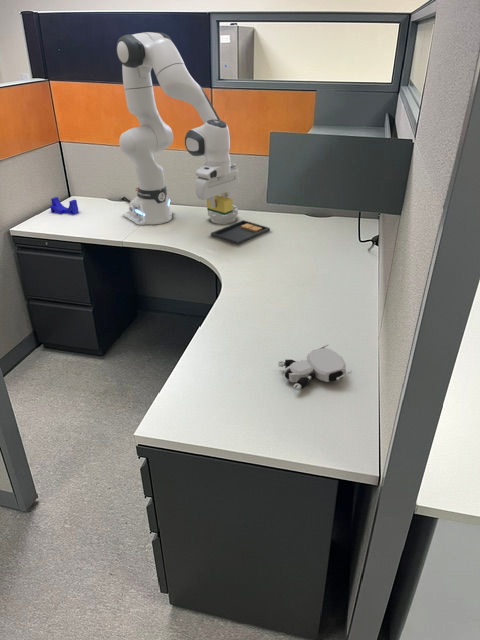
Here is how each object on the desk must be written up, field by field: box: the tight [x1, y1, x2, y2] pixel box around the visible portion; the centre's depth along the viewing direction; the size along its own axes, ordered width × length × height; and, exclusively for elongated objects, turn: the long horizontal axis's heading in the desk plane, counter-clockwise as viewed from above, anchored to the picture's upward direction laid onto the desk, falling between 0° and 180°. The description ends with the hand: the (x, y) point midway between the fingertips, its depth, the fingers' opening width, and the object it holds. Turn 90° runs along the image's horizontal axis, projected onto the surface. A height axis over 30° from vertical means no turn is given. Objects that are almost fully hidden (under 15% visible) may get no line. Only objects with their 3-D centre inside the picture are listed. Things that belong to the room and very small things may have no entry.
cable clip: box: [49, 196, 80, 216], centre depth 227 cm, size 12×4×6 cm, turn 66°
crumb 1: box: [241, 223, 254, 230], centre depth 208 cm, size 4×4×1 cm
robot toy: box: [277, 343, 353, 391], centre depth 121 cm, size 12×4×15 cm
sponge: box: [206, 195, 234, 215], centre depth 187 cm, size 9×4×5 cm, turn 49°
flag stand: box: [207, 194, 239, 225], centre depth 209 cm, size 13×13×30 cm
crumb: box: [249, 226, 262, 232], centre depth 205 cm, size 4×4×1 cm
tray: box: [210, 219, 271, 246], centre depth 202 cm, size 15×20×2 cm
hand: (219, 205), depth 188 cm, fingers closed on sponge, 4 cm apart
